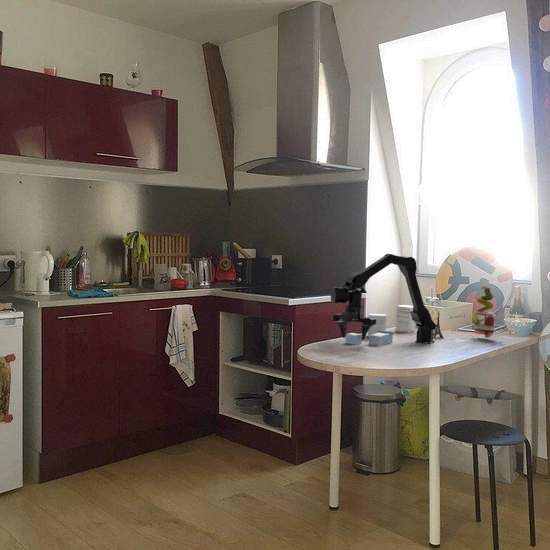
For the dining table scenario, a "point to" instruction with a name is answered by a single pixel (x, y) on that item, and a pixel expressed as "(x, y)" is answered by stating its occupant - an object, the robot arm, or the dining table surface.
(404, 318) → the white tall block
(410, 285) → the robot arm
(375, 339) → the blue notched block
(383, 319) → the small box
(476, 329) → the prank snake can
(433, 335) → the eiffel tower figurine
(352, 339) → the light blue block
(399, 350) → the dining table surface
